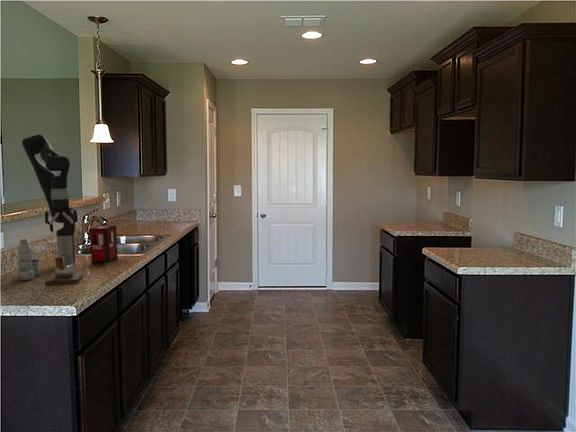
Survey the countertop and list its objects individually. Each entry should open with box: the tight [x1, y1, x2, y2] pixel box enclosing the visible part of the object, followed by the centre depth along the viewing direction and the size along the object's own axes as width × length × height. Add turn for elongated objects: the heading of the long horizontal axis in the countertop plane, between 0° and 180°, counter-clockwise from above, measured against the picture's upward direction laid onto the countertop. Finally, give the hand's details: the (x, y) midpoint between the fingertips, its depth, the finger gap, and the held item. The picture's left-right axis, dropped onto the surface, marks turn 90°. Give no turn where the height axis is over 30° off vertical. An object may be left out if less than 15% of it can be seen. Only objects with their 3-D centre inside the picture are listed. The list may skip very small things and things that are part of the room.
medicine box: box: [17, 258, 40, 278], centre depth 250 cm, size 8×4×9 cm, turn 149°
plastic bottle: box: [17, 238, 34, 281], centre depth 242 cm, size 6×7×20 cm
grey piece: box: [54, 254, 75, 278], centre depth 239 cm, size 10×8×10 cm
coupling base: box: [45, 272, 84, 286], centre depth 240 cm, size 14×14×2 cm
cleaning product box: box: [89, 225, 118, 265], centre depth 290 cm, size 16×9×20 cm, turn 179°
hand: (62, 231), depth 238 cm, fingers open, 8 cm apart
